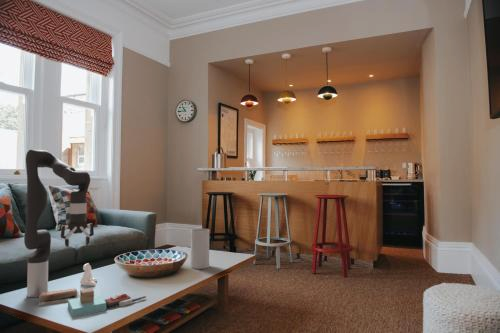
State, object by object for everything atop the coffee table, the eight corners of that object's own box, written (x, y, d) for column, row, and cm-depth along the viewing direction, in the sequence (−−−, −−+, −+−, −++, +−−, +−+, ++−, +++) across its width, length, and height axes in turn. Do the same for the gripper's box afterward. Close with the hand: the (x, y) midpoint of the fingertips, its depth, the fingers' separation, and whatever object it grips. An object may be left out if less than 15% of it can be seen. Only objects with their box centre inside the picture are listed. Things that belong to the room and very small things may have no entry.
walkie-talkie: (108, 311, 161) (147, 300, 176) (108, 301, 161) (147, 291, 176) (99, 306, 167) (138, 296, 182) (99, 297, 167) (138, 287, 182)
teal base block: (67, 308, 166) (68, 299, 166) (99, 302, 174) (99, 294, 174) (72, 318, 154) (72, 309, 154) (106, 311, 162) (106, 302, 162)
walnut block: (80, 300, 165) (80, 289, 165) (91, 298, 168) (91, 287, 168) (82, 303, 161) (82, 292, 161) (93, 301, 163) (93, 290, 164)
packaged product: (38, 297, 166) (39, 290, 175) (38, 307, 166) (39, 300, 175) (80, 290, 175) (79, 285, 184) (80, 300, 175) (79, 294, 184)
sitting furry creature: (95, 286, 196) (95, 264, 196) (78, 287, 193) (78, 266, 194) (97, 281, 205) (97, 260, 205) (81, 282, 202) (81, 261, 203)
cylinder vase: (187, 266, 239) (187, 229, 240) (202, 263, 247) (203, 228, 248) (196, 270, 230) (197, 232, 230) (212, 267, 238) (213, 230, 238)
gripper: (92, 210, 178) (91, 243, 177) (60, 212, 169) (59, 246, 169) (95, 212, 171) (94, 245, 171) (62, 214, 163) (61, 249, 163)
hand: (77, 245), depth 170 cm, fingers open, 8 cm apart
